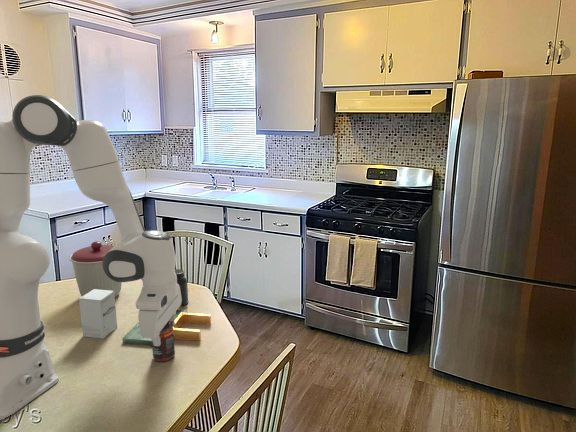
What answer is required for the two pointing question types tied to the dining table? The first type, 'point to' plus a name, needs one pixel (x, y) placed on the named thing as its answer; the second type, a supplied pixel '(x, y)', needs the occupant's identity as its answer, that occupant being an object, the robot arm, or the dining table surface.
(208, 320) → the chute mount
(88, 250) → the canister
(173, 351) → the supplement bottle
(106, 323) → the supplement box
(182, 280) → the supplement bottle
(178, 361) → the dining table surface
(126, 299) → the dining table surface
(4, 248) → the robot arm
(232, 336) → the dining table surface
